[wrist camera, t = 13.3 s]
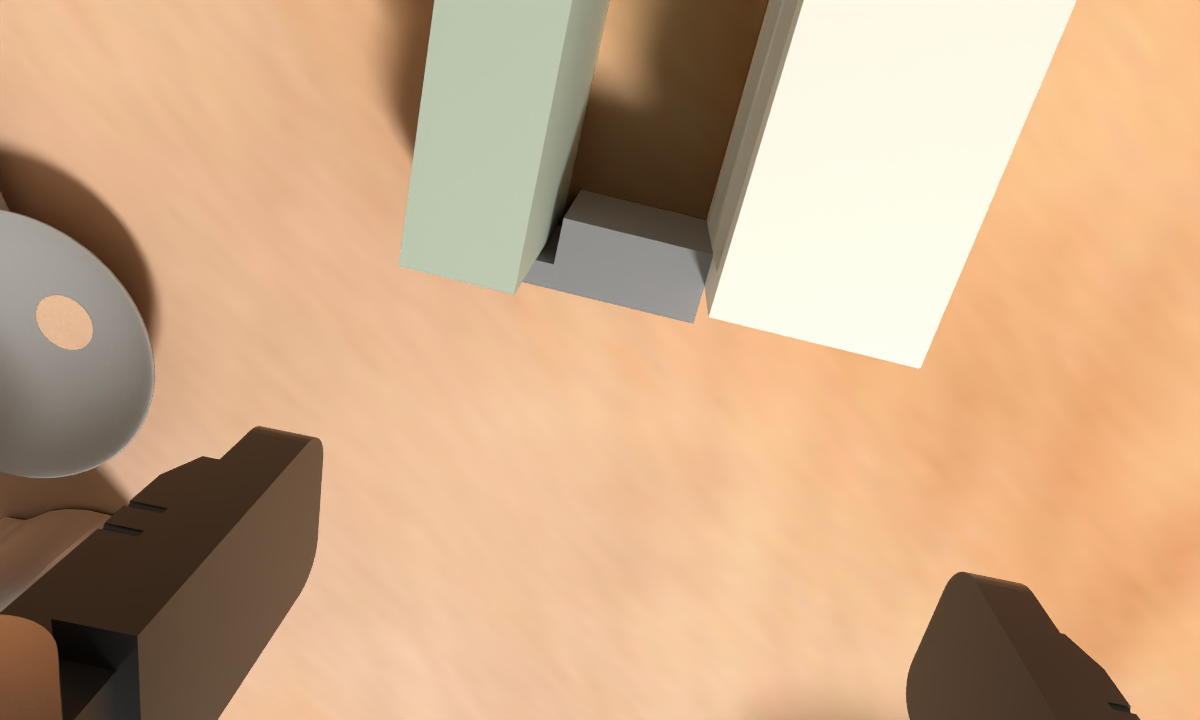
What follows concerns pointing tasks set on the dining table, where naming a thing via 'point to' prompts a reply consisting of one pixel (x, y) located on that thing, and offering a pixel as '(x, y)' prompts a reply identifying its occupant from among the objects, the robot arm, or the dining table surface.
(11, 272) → the spoon
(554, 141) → the door
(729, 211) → the cabinet
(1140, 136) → the dining table surface
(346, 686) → the dining table surface
